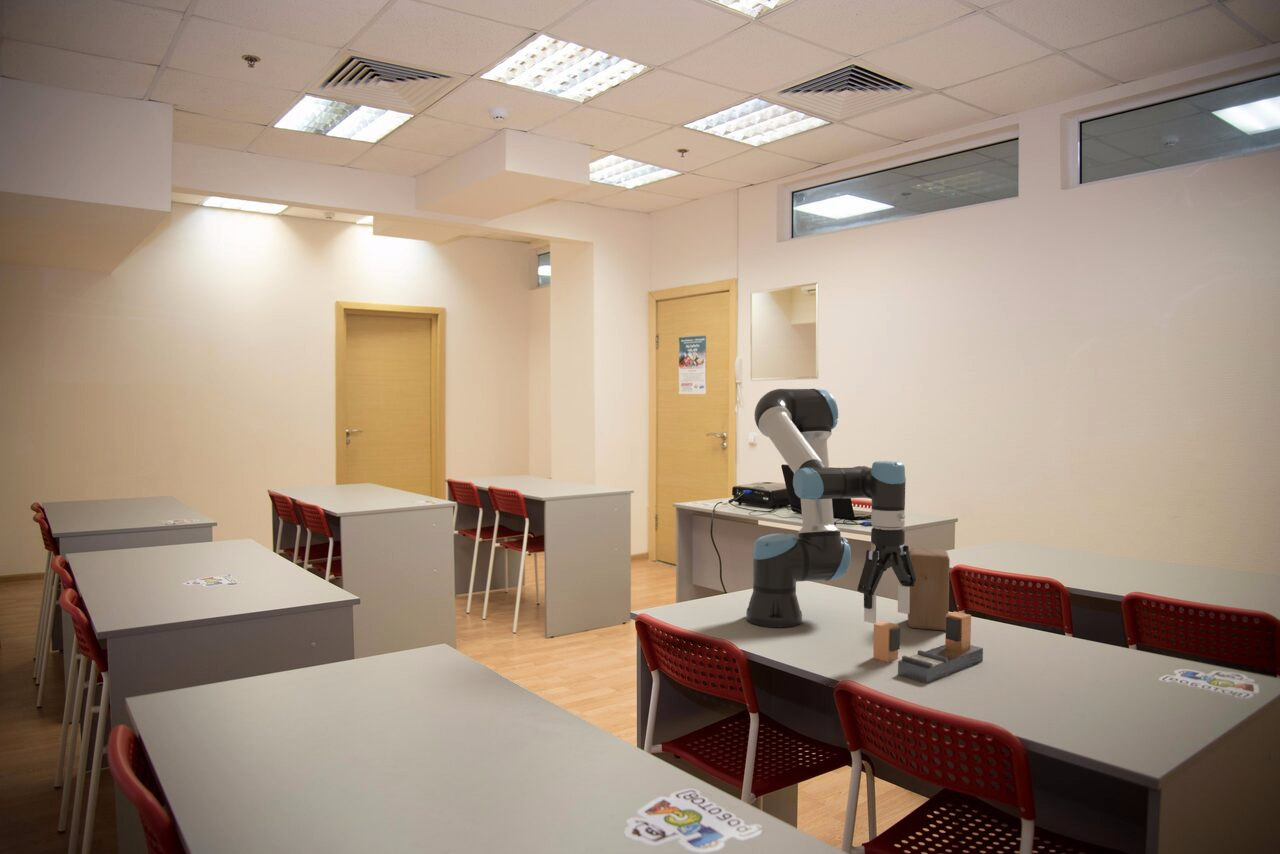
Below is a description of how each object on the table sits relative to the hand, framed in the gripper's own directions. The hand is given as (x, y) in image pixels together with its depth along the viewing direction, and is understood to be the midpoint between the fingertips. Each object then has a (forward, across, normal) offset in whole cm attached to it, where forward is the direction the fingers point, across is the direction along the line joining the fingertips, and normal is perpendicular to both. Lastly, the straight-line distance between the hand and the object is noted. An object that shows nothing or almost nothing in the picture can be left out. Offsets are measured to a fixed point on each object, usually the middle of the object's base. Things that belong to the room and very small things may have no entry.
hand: (887, 617), depth 193 cm
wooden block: (+10, +33, +10) cm, 36 cm away
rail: (+10, +4, -12) cm, 16 cm away
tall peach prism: (+10, 0, 0) cm, 10 cm away
